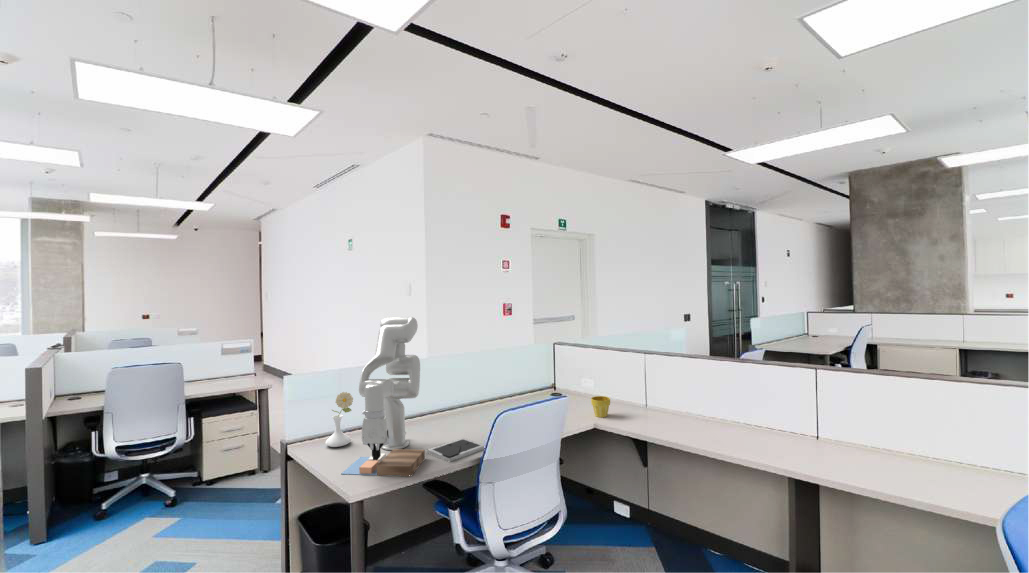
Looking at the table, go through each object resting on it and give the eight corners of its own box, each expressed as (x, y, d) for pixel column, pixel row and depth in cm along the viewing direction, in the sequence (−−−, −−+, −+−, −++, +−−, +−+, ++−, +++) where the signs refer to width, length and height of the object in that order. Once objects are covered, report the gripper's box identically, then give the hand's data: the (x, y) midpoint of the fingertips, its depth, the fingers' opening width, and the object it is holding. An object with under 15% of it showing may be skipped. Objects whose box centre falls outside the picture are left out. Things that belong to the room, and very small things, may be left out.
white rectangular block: (385, 453, 207) (385, 459, 208) (374, 453, 208) (374, 458, 208) (379, 459, 201) (379, 465, 201) (367, 459, 201) (368, 465, 201)
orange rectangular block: (378, 460, 199) (378, 466, 199) (366, 460, 200) (366, 466, 200) (371, 467, 192) (371, 473, 192) (359, 467, 193) (359, 473, 193)
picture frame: (449, 463, 203) (485, 449, 218) (449, 456, 203) (485, 443, 218) (427, 454, 214) (463, 442, 229) (427, 447, 214) (463, 436, 229)
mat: (360, 457, 211) (360, 456, 211) (393, 458, 209) (393, 457, 209) (341, 474, 193) (341, 473, 193) (377, 475, 191) (377, 474, 191)
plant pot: (591, 418, 260) (591, 400, 260) (591, 413, 270) (590, 395, 270) (611, 418, 259) (610, 400, 259) (609, 413, 269) (609, 395, 269)
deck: (393, 458, 209) (393, 449, 209) (424, 458, 207) (424, 449, 207) (377, 475, 191) (376, 465, 191) (411, 476, 190) (410, 466, 189)
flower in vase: (323, 450, 221) (321, 396, 220) (327, 442, 232) (325, 390, 231) (353, 447, 224) (351, 394, 223) (355, 439, 235) (354, 388, 234)
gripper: (353, 416, 193) (354, 462, 193) (389, 417, 191) (390, 462, 191) (361, 411, 200) (362, 455, 200) (396, 411, 198) (397, 455, 199)
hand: (376, 458), depth 196 cm, fingers closed
